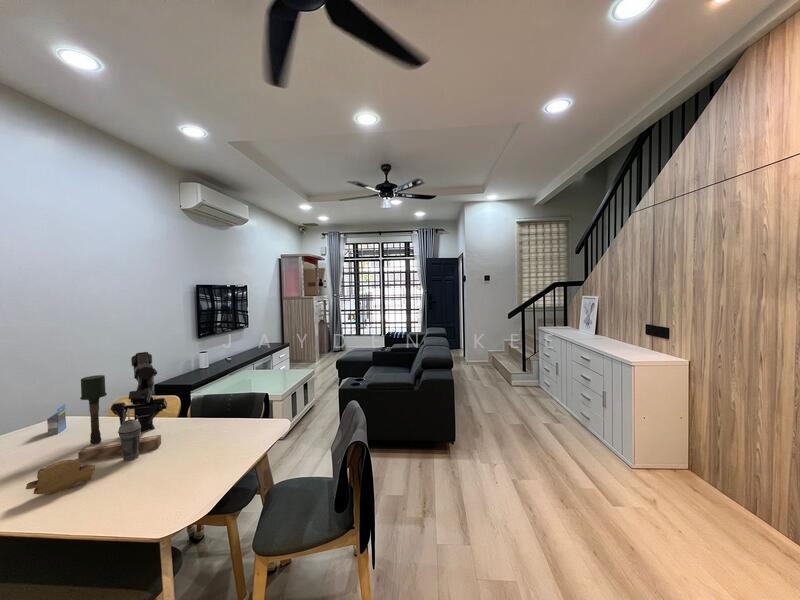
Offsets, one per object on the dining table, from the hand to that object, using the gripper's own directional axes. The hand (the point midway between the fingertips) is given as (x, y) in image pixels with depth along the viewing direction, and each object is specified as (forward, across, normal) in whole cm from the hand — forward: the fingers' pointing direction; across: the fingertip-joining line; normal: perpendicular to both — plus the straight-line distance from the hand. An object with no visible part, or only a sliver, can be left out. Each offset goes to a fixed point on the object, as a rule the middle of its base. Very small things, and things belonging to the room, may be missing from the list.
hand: (135, 425), depth 136 cm
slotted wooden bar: (+7, -6, +10) cm, 13 cm away
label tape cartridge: (-22, -46, +40) cm, 65 cm away
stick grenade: (-4, -21, +21) cm, 30 cm away
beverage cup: (+12, 0, +4) cm, 13 cm away
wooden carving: (+24, -13, -8) cm, 29 cm away
